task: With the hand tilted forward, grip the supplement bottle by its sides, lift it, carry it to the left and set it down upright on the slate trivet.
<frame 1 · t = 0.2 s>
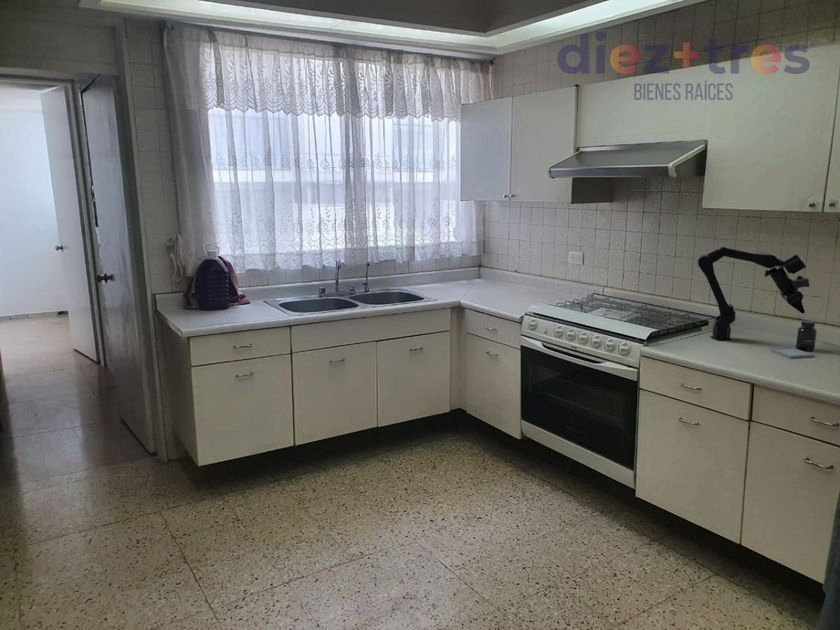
hand: (801, 310, 266), 15 cm above the worktop, tool tilted 35°, fingers open, 9 cm apart
supplement bottle: (804, 350, 260), on the worktop
slate trivet: (792, 354, 253), on the worktop
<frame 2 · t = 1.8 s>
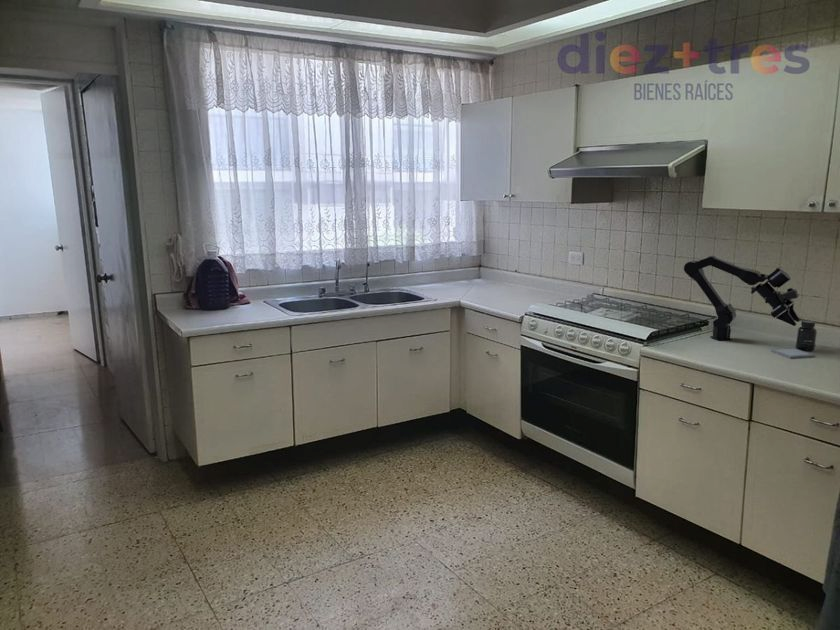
hand: (797, 323, 260), 11 cm above the worktop, tool tilted 45°, fingers open, 9 cm apart
nothing on the worktop moved.
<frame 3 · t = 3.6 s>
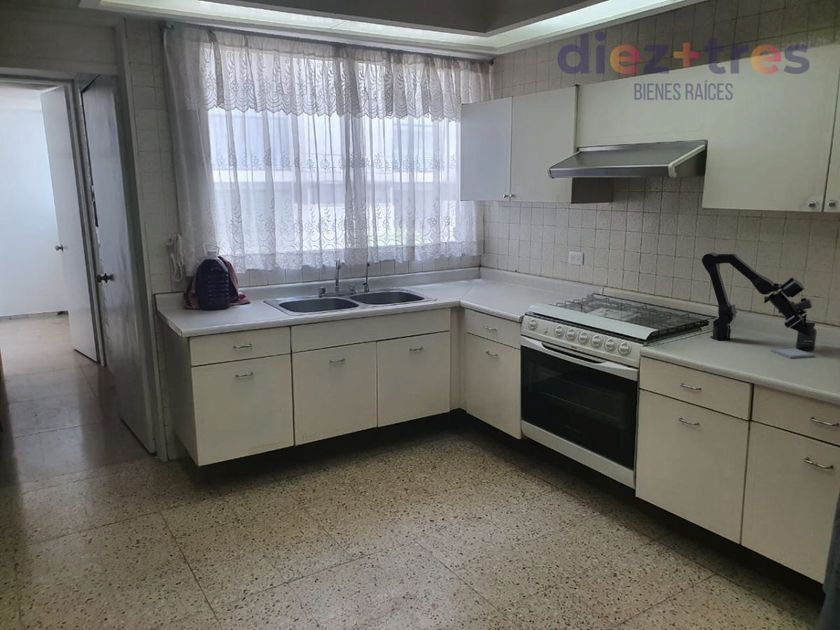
hand: (810, 333, 257), 7 cm above the worktop, tool tilted 45°, fingers closed on supplement bottle, 7 cm apart
supplement bottle: (804, 350, 260), on the worktop, touching gripper
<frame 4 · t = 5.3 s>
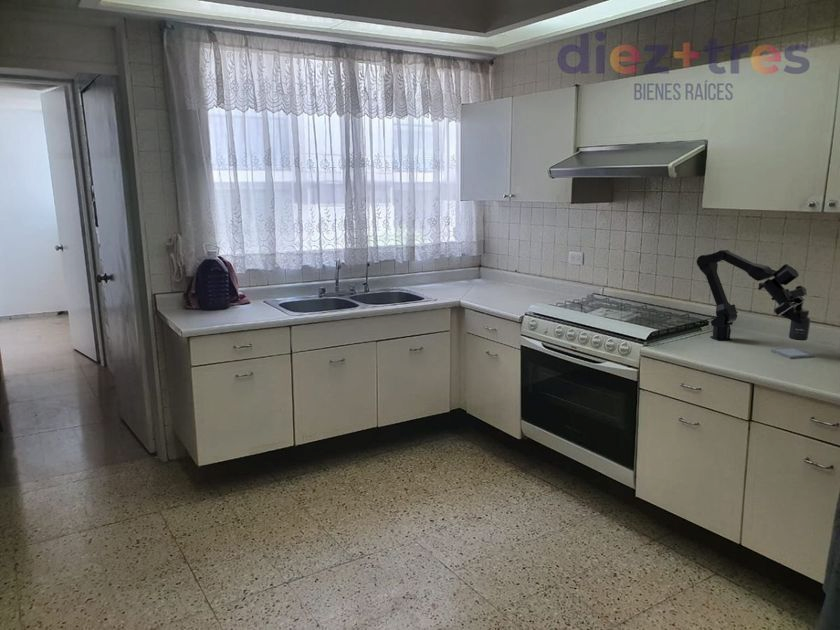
hand: (804, 322, 251), 13 cm above the worktop, tool tilted 45°, fingers closed on supplement bottle, 7 cm apart
supplement bottle: (798, 339, 254), point 6 cm above the worktop, touching gripper
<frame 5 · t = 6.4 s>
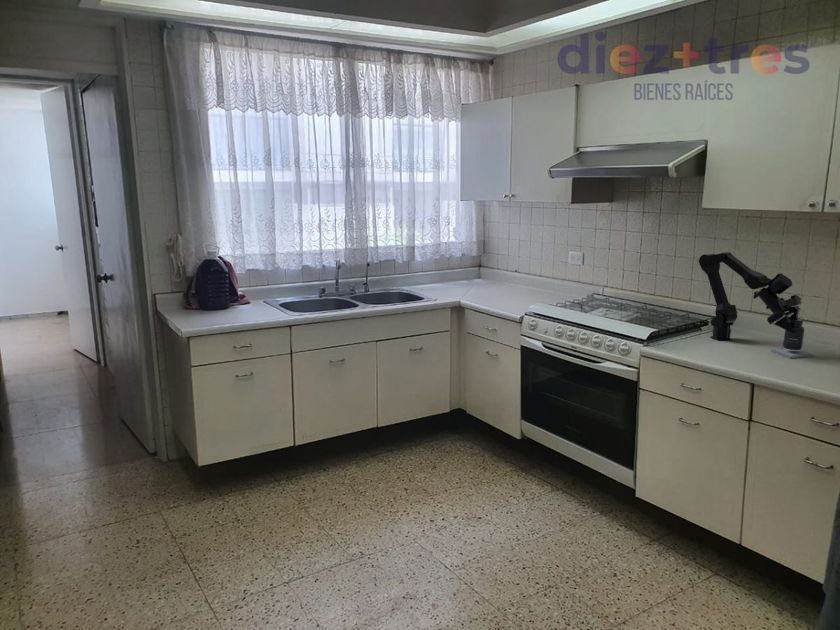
hand: (798, 331, 251), 10 cm above the worktop, tool tilted 45°, fingers closed on supplement bottle, 7 cm apart
supplement bottle: (792, 348, 253), point 2 cm above the worktop, touching gripper
when the fingers open (9 cm above the worktop, at t = 7.2 s): supplement bottle stays where it is, resting on slate trivet.
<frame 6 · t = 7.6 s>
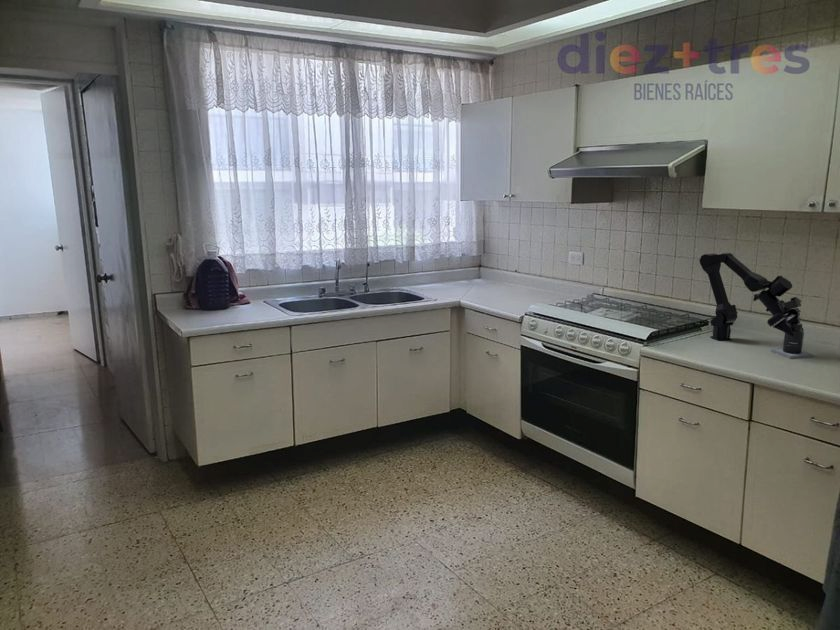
hand: (798, 333, 251), 9 cm above the worktop, tool tilted 45°, fingers open, 9 cm apart
supplement bottle: (792, 352, 253), point 1 cm above the worktop, touching slate trivet
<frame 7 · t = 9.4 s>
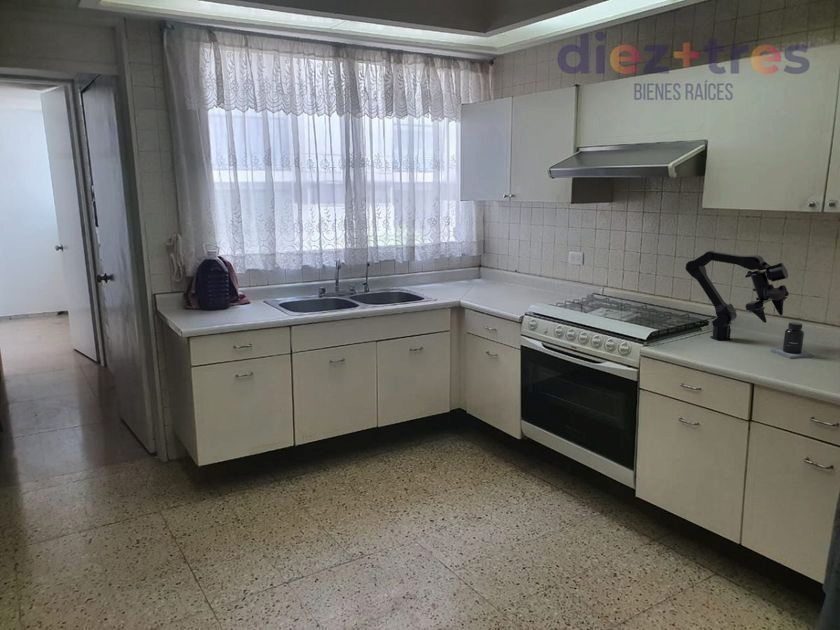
hand: (773, 318, 265), 12 cm above the worktop, tool tilted 20°, fingers open, 9 cm apart
nothing on the worktop moved.
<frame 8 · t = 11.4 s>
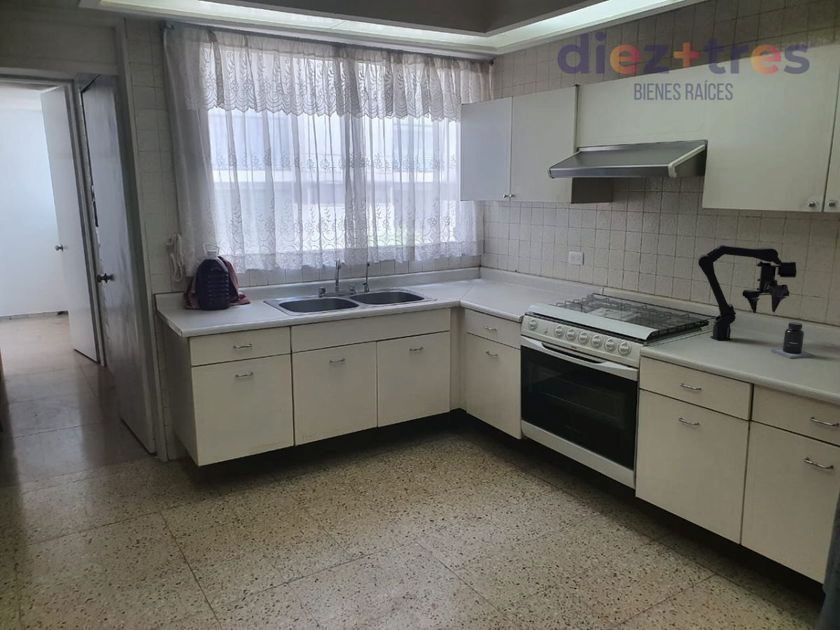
hand: (764, 312, 271), 13 cm above the worktop, tool pointing down, fingers open, 9 cm apart
nothing on the worktop moved.
at the end: supplement bottle inside the target area on the slate trivet (0.1 cm from its centre), point 0.7 cm above the slate trivet's base; supplement bottle tilted 0°; the gripper is holding nothing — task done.
